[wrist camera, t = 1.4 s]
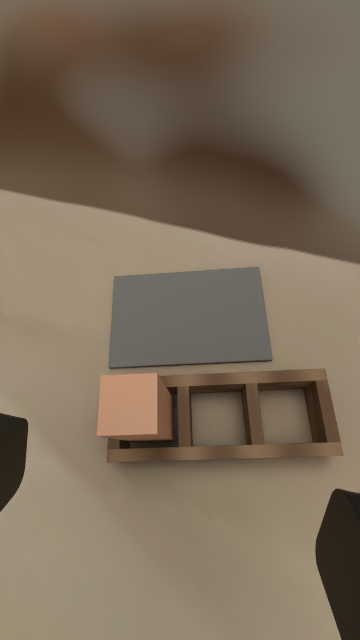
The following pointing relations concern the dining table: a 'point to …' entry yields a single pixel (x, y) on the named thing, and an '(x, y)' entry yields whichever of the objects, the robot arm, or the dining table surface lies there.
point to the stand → (249, 385)
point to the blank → (135, 408)
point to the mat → (189, 319)
